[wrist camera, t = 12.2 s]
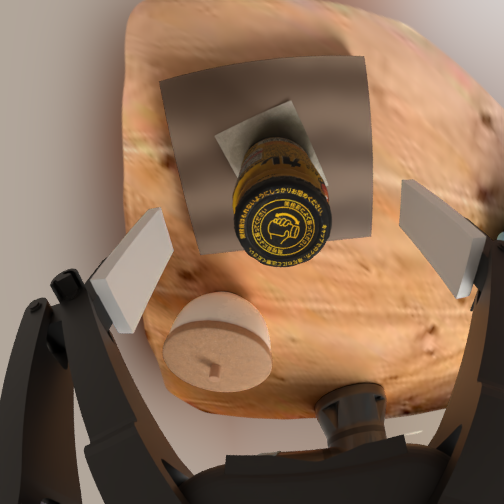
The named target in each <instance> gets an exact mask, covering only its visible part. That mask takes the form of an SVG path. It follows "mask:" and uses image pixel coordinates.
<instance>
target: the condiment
mask: <svg viewBox="0 0 504 504" xmlns="http://www.w3.org/2000/svg"><path fill="white" fill-rule="evenodd" d="M215 138H216V140H217V142H218V144H219V145H220V147H221V149H222V151H223V153H224V155H225V156H226V158H227V160H228V161H229V163H230V165H231V167H232V169H233V171H234V172H235V174H236V176H237V182H236V185H235V188H234V192H233V195H232V199H233V203H232V207H233V213H234V229H235V233H236V236H237V238H238V240H239V242H240V244H241V246H242V247H243V248H244V250H245V251H246V253H247V254H248V255H249V256H251V257H253V258H255V259H256V260H258V261H259V262H260V263H262V264H264V265H268V266H273V267H290V266H294V265H297V264H300V263H303V262H306V261H308V260H310V259H312V258H313V257H314V256H315V255H316V254H318V253H319V252H320V250H321V249H322V248H323V246H324V245H325V243H326V241H327V240H328V238H329V237H330V232H331V228H332V214H331V209H330V205H329V195H328V191H327V188H326V186H328V183H327V180H326V178H325V175H324V173H323V170H322V168H321V165H320V163H319V161H318V158H317V156H316V154H315V151H314V149H313V147H312V144H311V142H310V140H309V137H308V135H307V133H306V131H305V129H304V126H303V124H302V122H301V120H300V118H299V116H298V114H297V111H296V109H295V107H294V105H293V103H292V101H288V102H286V103H284V104H281V105H279V106H276V107H274V108H272V109H269V110H267V111H265V112H263V113H260V114H258V115H256V116H254V117H252V118H250V119H247V120H245V121H243V122H241V123H239V124H237V125H235V126H233V127H231V128H229V129H227V130H225V131H223V132H221V133H219V134H217V135H215Z"/></svg>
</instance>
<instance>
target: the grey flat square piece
mask: <svg viewBox="0 0 504 504" xmlns="http://www.w3.org/2000/svg"><path fill="white" fill-rule="evenodd" d="M159 83H160V89H161V94H162V99H163V104H164V109H165V114H166V118H167V123H168V128H169V132H170V137H171V141H172V146H173V150H174V155H175V159H176V163H177V167H178V172H179V176H180V180H181V184H182V188H183V192H184V196H185V200H186V204H187V208H188V211H189V215H190V219H191V223H192V227H193V230H194V234H195V238H196V241H197V245H198V249H199V252H200V255H206V254H215V253H224V252H233V251H242V250H244V248H243V247H242V246H241V244H240V242H239V240H238V238H237V236H236V233H235V229H234V213H233V207H232V203H233V199H232V195H233V192H234V188H235V185H236V182H237V176H236V174H235V172H234V171H233V169H232V167H231V165H230V163H229V161H228V160H227V158H226V156H225V155H224V153H223V151H222V149H221V147H220V145H219V144H218V142H217V140H216V138H215V135H217V134H219V133H221V132H223V131H225V130H227V129H229V128H231V127H233V126H235V125H237V124H239V123H241V122H243V121H245V120H247V119H250V118H252V117H254V116H256V115H258V114H260V113H263V112H265V111H267V110H269V109H272V108H274V107H276V106H279V105H281V104H284V103H286V102H288V101H292V103H293V105H294V107H295V109H296V111H297V114H298V116H299V118H300V120H301V122H302V124H303V126H304V129H305V131H306V133H307V135H308V137H309V140H310V142H311V144H312V147H313V149H314V151H315V154H316V156H317V158H318V161H319V163H320V165H321V168H322V170H323V173H324V175H325V178H326V180H327V183H328V186H326V188H327V191H328V195H329V205H330V209H331V214H332V228H331V232H330V237H329V238H328V240H327V241H333V240H342V239H352V238H361V237H370V236H371V230H372V205H373V152H372V129H371V113H370V101H369V90H368V81H367V73H366V65H365V58H364V56H305V57H290V58H278V59H268V60H260V61H252V62H245V63H239V64H233V65H227V66H222V67H216V68H211V69H207V70H202V71H198V72H193V73H189V74H185V75H181V76H177V77H174V78H170V79H166V80H163V81H159Z"/></svg>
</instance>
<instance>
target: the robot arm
mask: <svg viewBox="0 0 504 504" xmlns="http://www.w3.org/2000/svg"><path fill="white" fill-rule="evenodd" d="M399 226H400V227H401V229H402V230H403V231H404V232H405V233H406V234H407V236H408V237H409V238H410V239H411V240H412V242H413V243H414V244H415V245H416V246H417V248H418V249H419V250H420V251H421V253H422V254H423V255H424V256H425V258H426V259H427V260H428V261H429V263H430V264H431V265H432V267H433V268H434V269H435V271H436V272H437V273H438V274H439V276H440V277H441V279H442V280H443V281H444V283H445V284H446V285H447V287H448V288H449V290H450V291H451V292H452V294H453V295H454V297H455V298H456V299H458V298H462V297H466V296H469V295H470V293H471V290H472V287H473V284H475V286H476V287H477V288H478V291H477V294H476V296H475V299H474V302H473V304H472V307H471V309H470V311H473V314H472V319H471V325H470V329H469V334H468V339H467V343H466V347H465V351H464V355H463V359H462V362H461V366H460V369H459V373H458V376H457V379H456V382H455V385H454V388H453V391H452V394H451V397H450V400H449V403H448V405H447V408H446V411H445V413H444V416H443V418H442V421H441V423H440V426H439V428H438V430H437V432H436V434H435V436H434V437H433V439H432V440H431V442H430V443H429V445H428V446H425V445H420V444H408V443H407V444H406V442H405V438H404V434H403V435H399V436H396V437H392V438H388V439H387V436H386V432H385V427H384V420H385V411H386V395H385V391H384V389H383V388H382V387H381V386H379V385H377V384H370V383H364V384H355V385H350V386H346V387H343V388H340V389H337V390H335V391H332V392H330V393H328V394H327V395H325V396H323V397H322V398H321V399H320V400H319V401H318V402H317V403H316V406H315V411H316V418H317V420H318V422H319V424H320V426H321V428H322V430H323V432H324V434H325V436H326V438H327V443H328V448H326V449H316V450H305V451H288V452H281V451H277V452H273V453H261V454H258V455H252V456H250V455H248V456H247V455H244V456H241V455H239V456H237V455H226V462H225V464H224V465H220V466H216V467H213V468H209V469H207V470H205V471H202V472H200V473H198V474H196V475H193V474H192V473H191V471H190V470H189V469H188V468H187V467H186V466H185V465H184V464H183V462H182V461H181V460H180V459H179V457H178V456H177V455H176V453H175V451H174V450H173V448H172V447H171V445H170V444H169V442H168V441H167V439H166V437H165V436H164V434H163V433H162V431H161V430H160V428H159V426H158V424H157V423H156V421H155V419H154V418H153V416H152V414H151V412H150V411H149V409H148V407H147V405H146V404H145V402H144V400H143V398H142V396H141V394H140V393H139V390H138V389H137V387H136V385H135V383H134V381H133V379H132V377H131V375H130V373H129V371H128V368H127V367H126V364H125V362H124V360H123V358H122V356H121V353H120V351H119V349H118V347H117V344H116V342H115V340H114V337H113V335H112V334H111V332H110V330H109V329H110V327H111V325H112V323H113V325H114V326H115V328H116V330H117V331H118V333H134V331H135V329H136V327H137V325H138V323H139V320H140V318H141V316H142V314H143V312H144V310H145V307H146V305H147V303H148V301H149V299H150V297H151V295H152V293H153V291H154V289H155V287H156V285H157V283H158V281H159V279H160V277H161V275H162V273H163V271H164V269H165V267H166V265H167V263H168V261H169V259H170V257H171V255H172V253H173V251H174V250H173V246H172V243H171V240H170V237H169V233H168V230H167V227H166V223H165V220H164V217H163V213H162V210H161V207H158V208H153V209H148V210H147V211H146V213H145V214H144V215H143V216H142V217H141V218H140V219H139V220H138V222H137V223H136V224H135V225H134V226H133V227H132V228H131V230H130V231H129V232H128V233H127V234H126V235H125V237H124V238H123V239H122V240H121V242H120V243H119V244H118V245H117V246H116V248H115V249H114V250H113V251H112V252H111V254H110V255H109V256H108V257H107V258H105V259H104V260H103V261H102V262H101V264H100V265H99V266H98V268H97V269H96V270H95V271H94V273H93V274H92V275H91V276H90V278H89V279H88V280H87V282H86V283H85V284H84V283H83V281H82V279H81V277H80V275H79V273H78V271H77V270H76V269H68V270H66V271H63V272H62V273H60V274H58V275H57V276H56V277H55V278H54V279H53V280H52V282H51V284H50V286H51V288H52V290H53V292H54V293H55V295H56V296H57V299H58V300H59V302H60V304H57V305H54V306H50V304H49V302H48V301H47V299H46V298H39V299H37V300H34V301H32V302H31V303H30V304H29V306H28V307H27V308H26V310H25V312H24V315H23V318H22V320H21V323H20V327H19V329H18V332H17V335H16V339H15V342H14V345H13V349H12V352H11V356H10V359H9V363H8V367H7V371H6V375H5V380H4V384H3V389H2V394H1V399H0V504H82V498H81V490H80V483H79V476H78V469H77V459H76V450H75V435H74V409H73V408H74V402H73V401H74V397H73V395H74V393H73V392H74V390H73V389H74V388H75V393H76V397H77V400H78V404H79V407H80V410H81V414H82V417H83V420H84V423H85V427H86V430H87V433H88V436H89V439H90V444H89V445H87V446H85V448H84V453H85V458H86V460H87V463H88V465H89V468H90V471H91V473H92V476H93V478H94V481H95V483H96V486H97V488H98V490H99V492H100V494H101V496H102V499H103V501H104V503H105V504H504V241H503V240H494V241H493V240H492V239H491V238H489V237H488V236H487V235H486V234H485V233H484V232H483V231H482V230H479V228H478V227H477V226H476V225H474V224H473V223H472V222H471V221H470V220H469V219H467V218H465V217H463V216H462V215H461V214H459V213H458V212H457V211H456V210H454V209H453V208H452V207H450V206H449V205H448V204H447V203H445V202H444V201H443V200H441V199H440V198H439V197H437V196H436V195H435V194H433V193H432V192H431V191H429V190H428V189H426V188H425V187H424V186H422V185H421V184H419V183H418V182H416V181H415V180H402V188H401V207H400V220H399Z"/></svg>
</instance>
